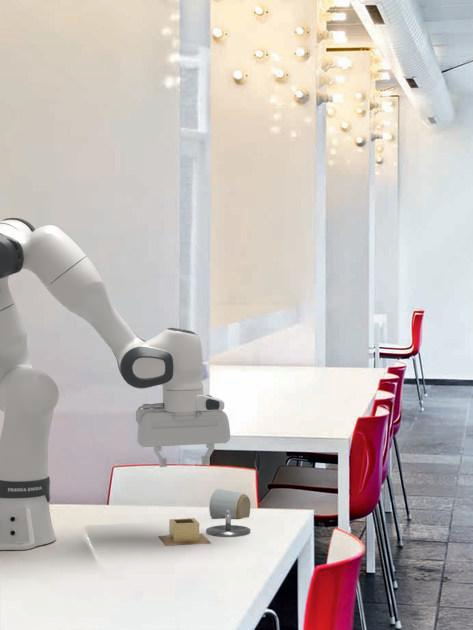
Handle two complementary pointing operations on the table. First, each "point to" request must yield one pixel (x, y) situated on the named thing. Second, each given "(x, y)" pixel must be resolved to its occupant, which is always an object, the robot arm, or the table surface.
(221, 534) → the stand
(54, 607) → the table surface
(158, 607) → the table surface
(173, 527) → the collar
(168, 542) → the stand
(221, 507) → the grey cylinder tan end
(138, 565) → the table surface
